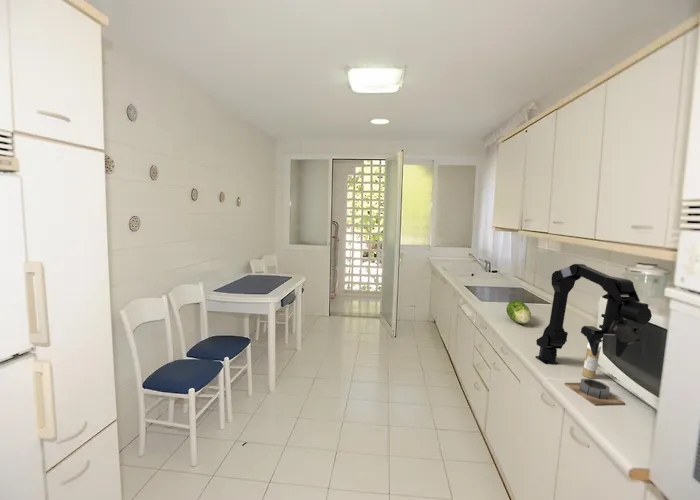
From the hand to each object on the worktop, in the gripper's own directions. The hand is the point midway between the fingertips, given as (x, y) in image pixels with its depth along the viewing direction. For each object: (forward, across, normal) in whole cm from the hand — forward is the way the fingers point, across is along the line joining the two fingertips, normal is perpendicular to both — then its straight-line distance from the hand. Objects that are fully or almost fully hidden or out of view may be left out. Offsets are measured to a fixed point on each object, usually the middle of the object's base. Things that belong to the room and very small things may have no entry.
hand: (606, 356), depth 132 cm
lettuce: (+15, +14, +76) cm, 79 cm away
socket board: (+14, -3, -1) cm, 15 cm away
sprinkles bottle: (+14, +6, +13) cm, 20 cm away
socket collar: (+14, -3, -1) cm, 15 cm away
